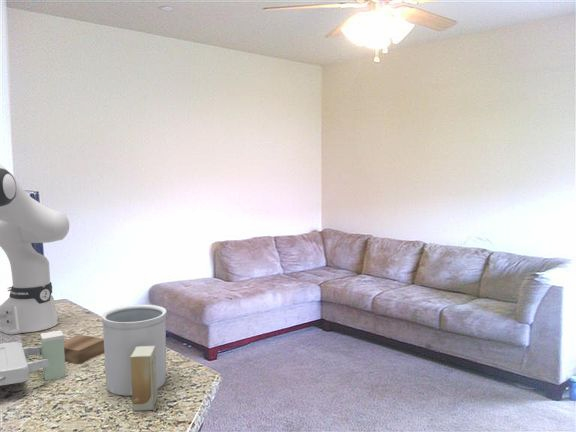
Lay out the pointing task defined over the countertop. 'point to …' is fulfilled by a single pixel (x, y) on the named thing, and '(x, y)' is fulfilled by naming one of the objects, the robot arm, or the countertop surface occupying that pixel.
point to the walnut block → (82, 348)
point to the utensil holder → (132, 343)
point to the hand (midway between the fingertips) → (46, 355)
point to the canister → (53, 354)
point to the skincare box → (144, 378)
